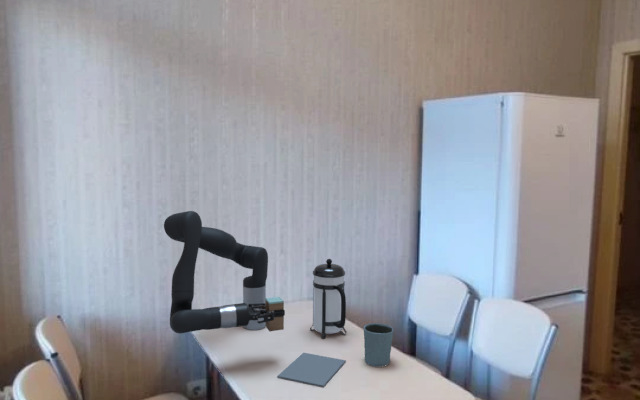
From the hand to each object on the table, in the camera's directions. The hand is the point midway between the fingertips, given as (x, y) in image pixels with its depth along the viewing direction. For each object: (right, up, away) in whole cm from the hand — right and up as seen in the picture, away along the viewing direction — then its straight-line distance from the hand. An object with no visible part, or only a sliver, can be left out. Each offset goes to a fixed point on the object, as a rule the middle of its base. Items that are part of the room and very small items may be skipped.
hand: (281, 309), depth 171 cm
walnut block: (-2, -6, 0) cm, 7 cm away
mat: (+11, -18, -6) cm, 22 cm away
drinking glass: (+33, -18, +1) cm, 38 cm away
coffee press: (+17, -15, +26) cm, 35 cm away
